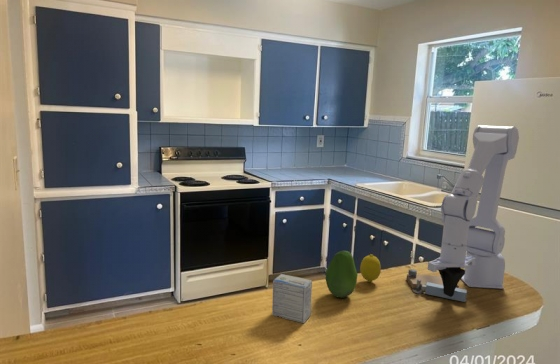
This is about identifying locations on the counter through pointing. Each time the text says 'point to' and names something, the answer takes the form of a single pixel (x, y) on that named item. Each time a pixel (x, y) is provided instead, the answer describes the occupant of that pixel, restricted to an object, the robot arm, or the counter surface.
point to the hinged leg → (438, 291)
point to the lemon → (370, 268)
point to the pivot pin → (418, 288)
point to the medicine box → (292, 298)
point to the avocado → (341, 274)
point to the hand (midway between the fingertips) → (448, 295)
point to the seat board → (422, 279)
